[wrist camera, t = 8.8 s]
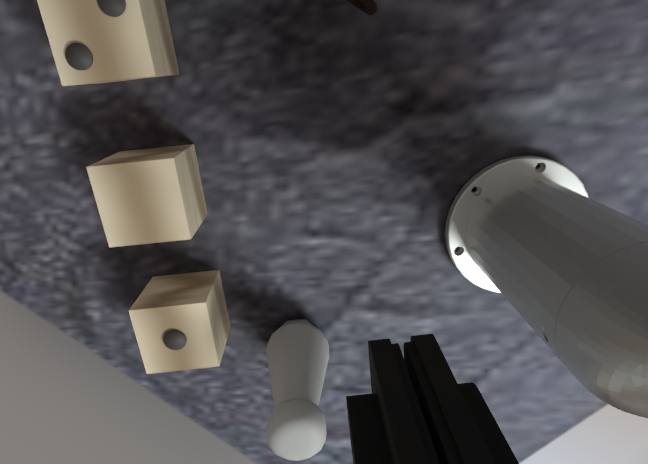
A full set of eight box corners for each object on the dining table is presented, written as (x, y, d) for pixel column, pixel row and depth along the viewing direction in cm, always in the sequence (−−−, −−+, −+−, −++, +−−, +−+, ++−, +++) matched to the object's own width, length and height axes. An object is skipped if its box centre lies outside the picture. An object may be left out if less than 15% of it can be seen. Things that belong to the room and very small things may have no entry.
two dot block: (161, -14, 32) (130, -31, 26) (179, 74, 34) (154, 76, 28) (79, -5, 32) (29, -21, 26) (102, 82, 34) (60, 86, 28)
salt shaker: (314, 368, 44) (319, 484, 32) (259, 352, 43) (242, 465, 31) (336, 321, 42) (350, 424, 30) (280, 302, 41) (270, 401, 29)
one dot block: (219, 269, 40) (205, 303, 34) (230, 326, 42) (219, 367, 36) (153, 276, 40) (127, 311, 34) (167, 332, 42) (145, 375, 36)
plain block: (194, 143, 36) (173, 158, 30) (207, 213, 38) (191, 239, 32) (120, 151, 36) (86, 166, 30) (138, 220, 38) (109, 247, 32)
